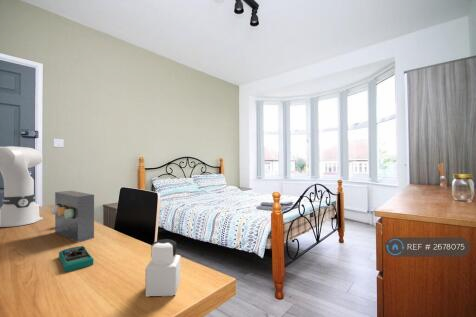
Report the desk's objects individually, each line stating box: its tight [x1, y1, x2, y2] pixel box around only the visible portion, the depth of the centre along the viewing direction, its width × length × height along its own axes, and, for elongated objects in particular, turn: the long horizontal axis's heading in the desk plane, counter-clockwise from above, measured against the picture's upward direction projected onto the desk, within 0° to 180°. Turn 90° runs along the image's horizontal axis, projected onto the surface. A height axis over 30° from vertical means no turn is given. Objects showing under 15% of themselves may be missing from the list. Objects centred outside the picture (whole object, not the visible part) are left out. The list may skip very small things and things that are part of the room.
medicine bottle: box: [145, 238, 181, 297], centre depth 59 cm, size 7×7×12 cm
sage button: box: [64, 208, 75, 219], centre depth 93 cm, size 4×2×4 cm, turn 57°
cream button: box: [50, 204, 61, 215], centre depth 100 cm, size 4×2×4 cm, turn 57°
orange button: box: [57, 207, 67, 216], centre depth 97 cm, size 4×2×4 cm, turn 57°
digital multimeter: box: [58, 245, 94, 273], centre depth 75 cm, size 7×15×3 cm, turn 43°
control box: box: [54, 190, 95, 243], centre depth 100 cm, size 22×6×18 cm, turn 57°
